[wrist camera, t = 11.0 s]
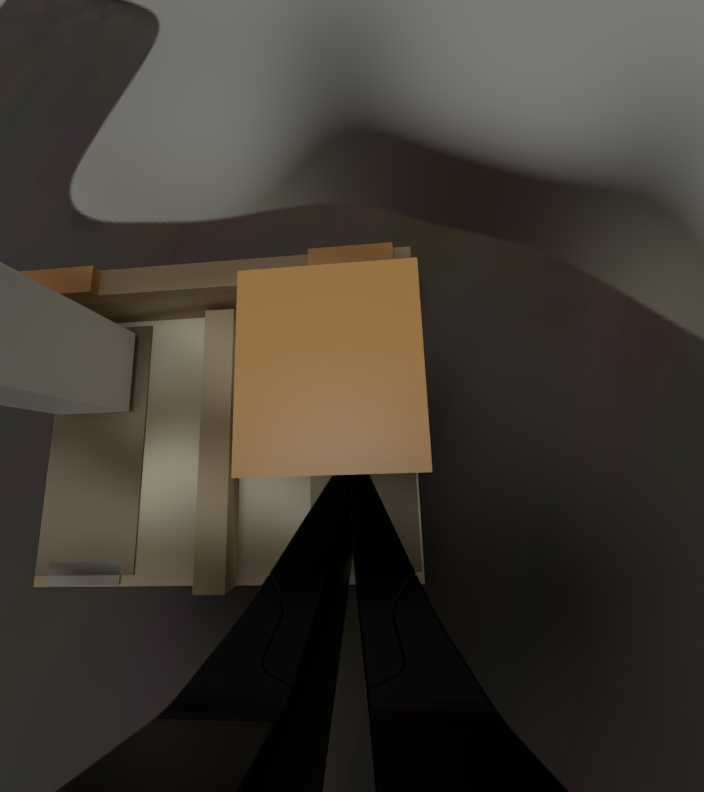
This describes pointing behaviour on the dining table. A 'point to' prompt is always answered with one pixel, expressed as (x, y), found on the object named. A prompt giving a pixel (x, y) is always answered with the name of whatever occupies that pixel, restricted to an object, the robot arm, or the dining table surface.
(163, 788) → the robot arm
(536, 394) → the dining table surface
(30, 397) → the tab
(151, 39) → the dining table surface
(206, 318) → the switch bank
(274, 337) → the tab
